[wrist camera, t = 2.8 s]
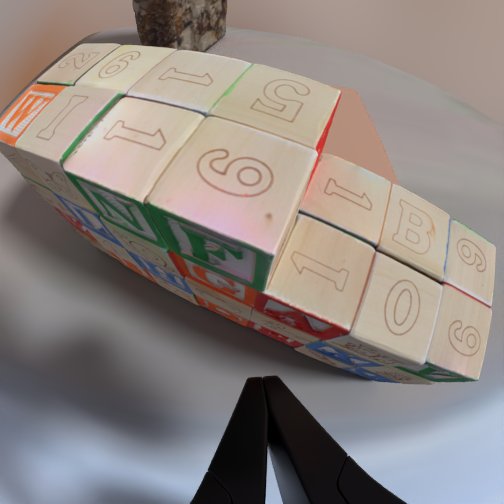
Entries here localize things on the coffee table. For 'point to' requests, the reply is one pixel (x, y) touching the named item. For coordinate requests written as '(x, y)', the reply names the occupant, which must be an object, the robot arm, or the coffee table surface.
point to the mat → (357, 136)
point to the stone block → (180, 23)
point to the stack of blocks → (254, 208)
